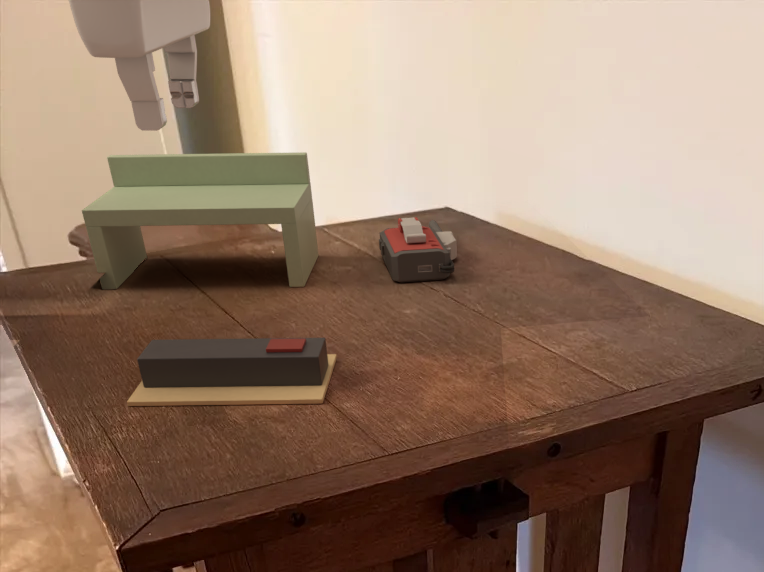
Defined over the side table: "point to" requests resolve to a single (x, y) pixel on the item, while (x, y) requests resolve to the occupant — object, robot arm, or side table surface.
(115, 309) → the side table surface
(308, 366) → the remote
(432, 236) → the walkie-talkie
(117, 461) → the side table surface
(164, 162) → the green bench
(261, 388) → the mat
